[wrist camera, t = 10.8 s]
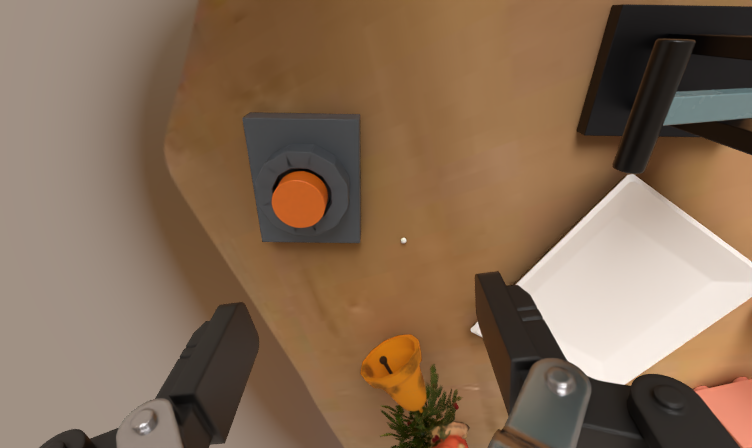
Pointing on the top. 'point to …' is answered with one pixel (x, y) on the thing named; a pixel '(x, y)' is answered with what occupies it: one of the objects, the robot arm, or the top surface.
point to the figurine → (452, 436)
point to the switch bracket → (703, 71)
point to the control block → (307, 170)
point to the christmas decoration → (408, 390)
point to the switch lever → (672, 104)
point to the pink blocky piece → (732, 408)
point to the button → (300, 199)
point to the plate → (634, 283)
